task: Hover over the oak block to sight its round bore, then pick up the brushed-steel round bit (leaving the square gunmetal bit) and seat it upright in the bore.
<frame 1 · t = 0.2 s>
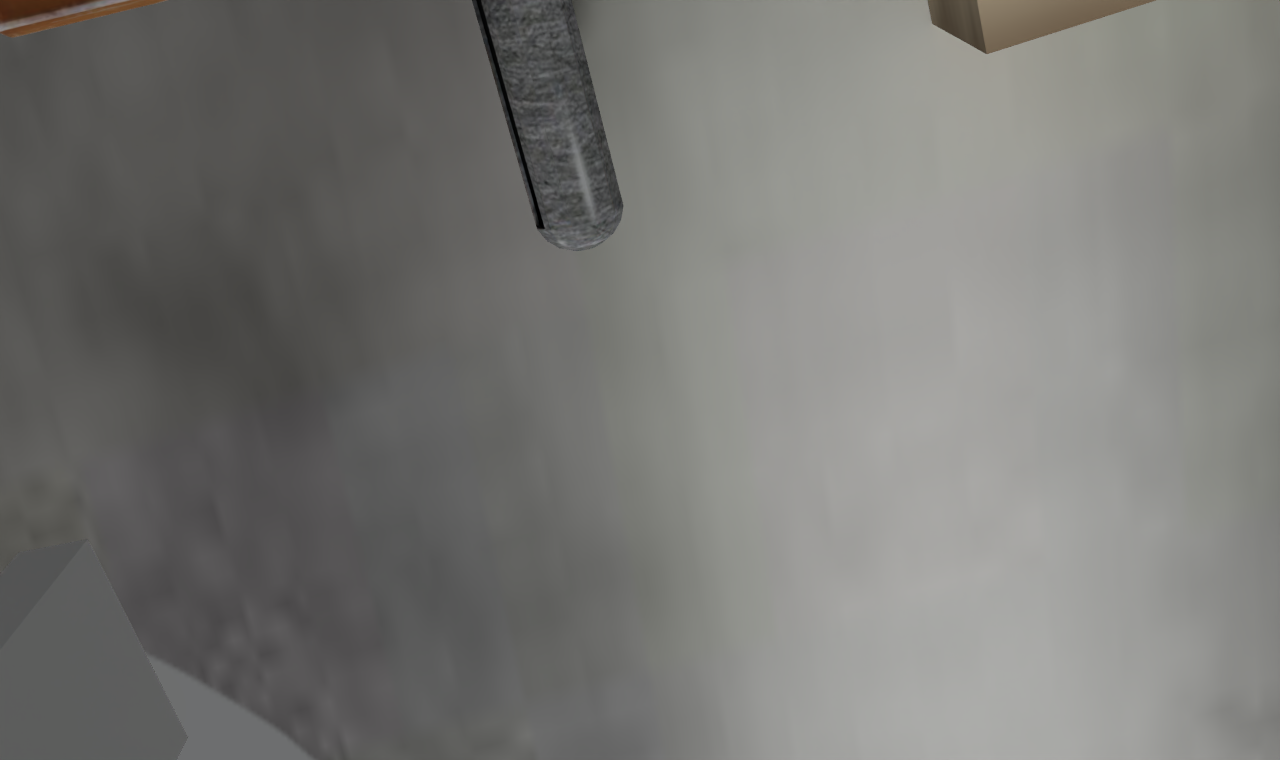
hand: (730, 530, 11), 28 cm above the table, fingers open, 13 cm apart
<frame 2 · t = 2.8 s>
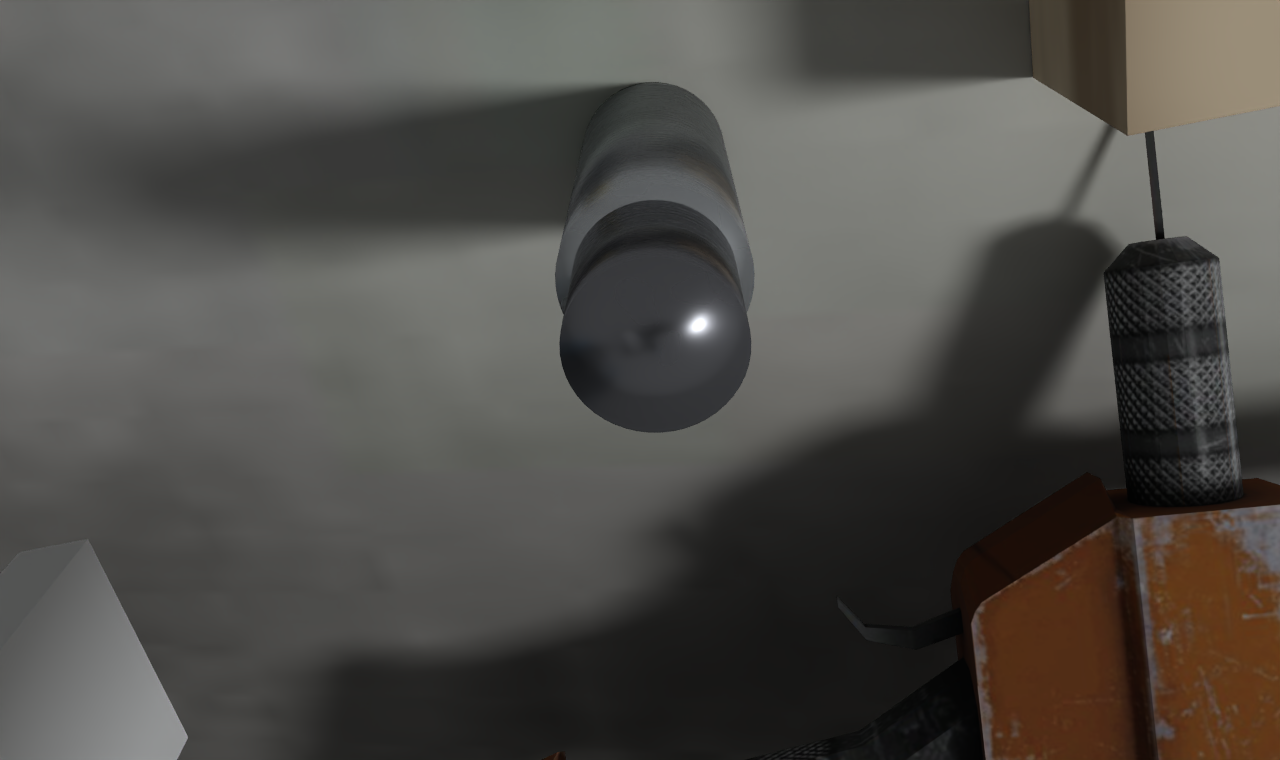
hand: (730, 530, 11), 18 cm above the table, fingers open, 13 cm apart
tool: (1065, 557, 30), point 3 cm above the table, touching bore block
round bit: (653, 154, 28), on the table
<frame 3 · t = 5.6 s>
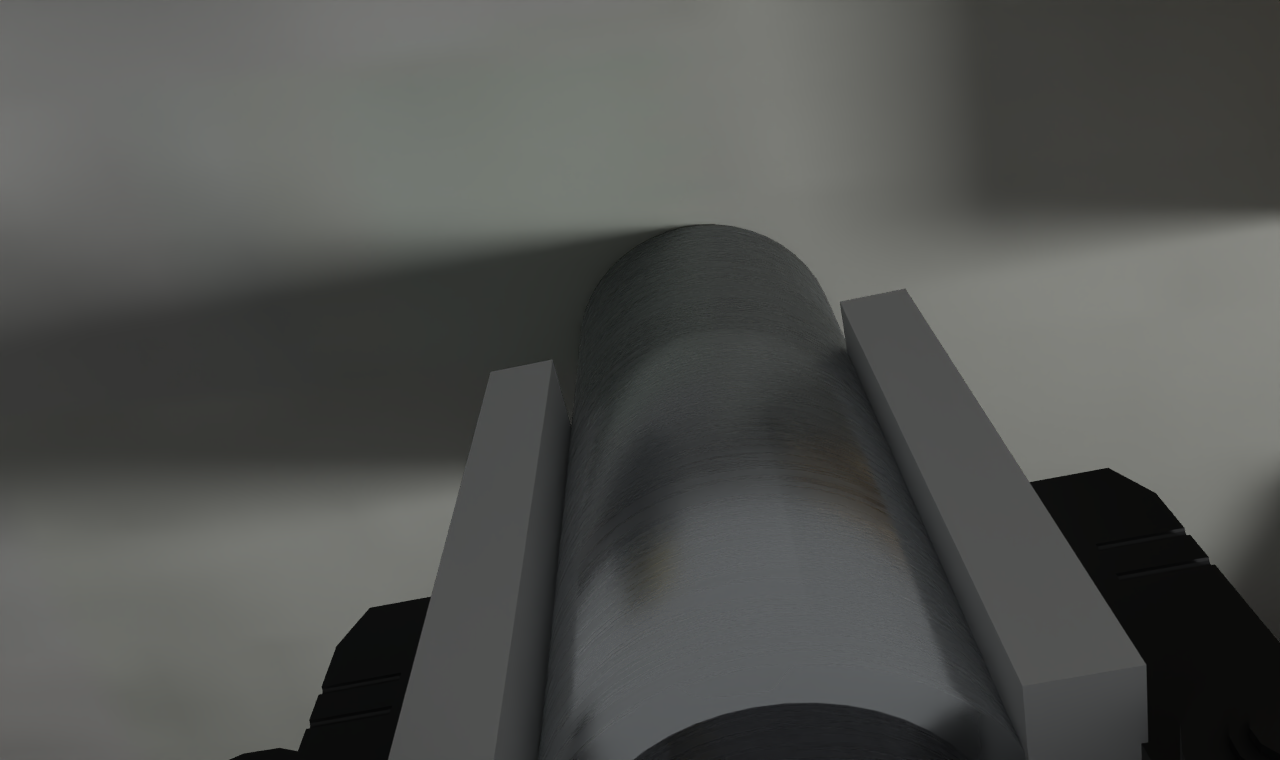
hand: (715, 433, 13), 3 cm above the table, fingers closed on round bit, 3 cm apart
round bit: (707, 347, 16), on the table, touching gripper
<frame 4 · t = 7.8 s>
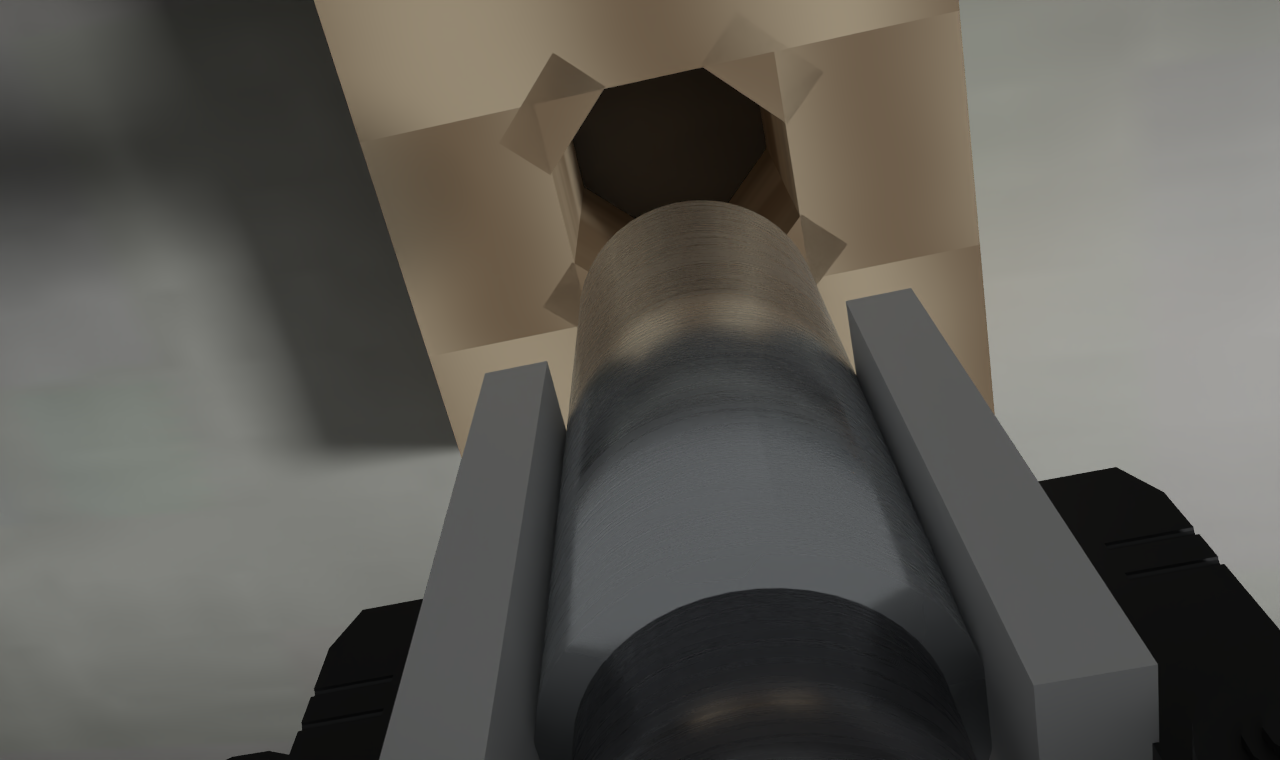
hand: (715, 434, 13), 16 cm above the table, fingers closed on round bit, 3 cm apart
bore block: (667, 130, 28), on the table
round bit: (698, 315, 17), point 13 cm above the table, touching gripper
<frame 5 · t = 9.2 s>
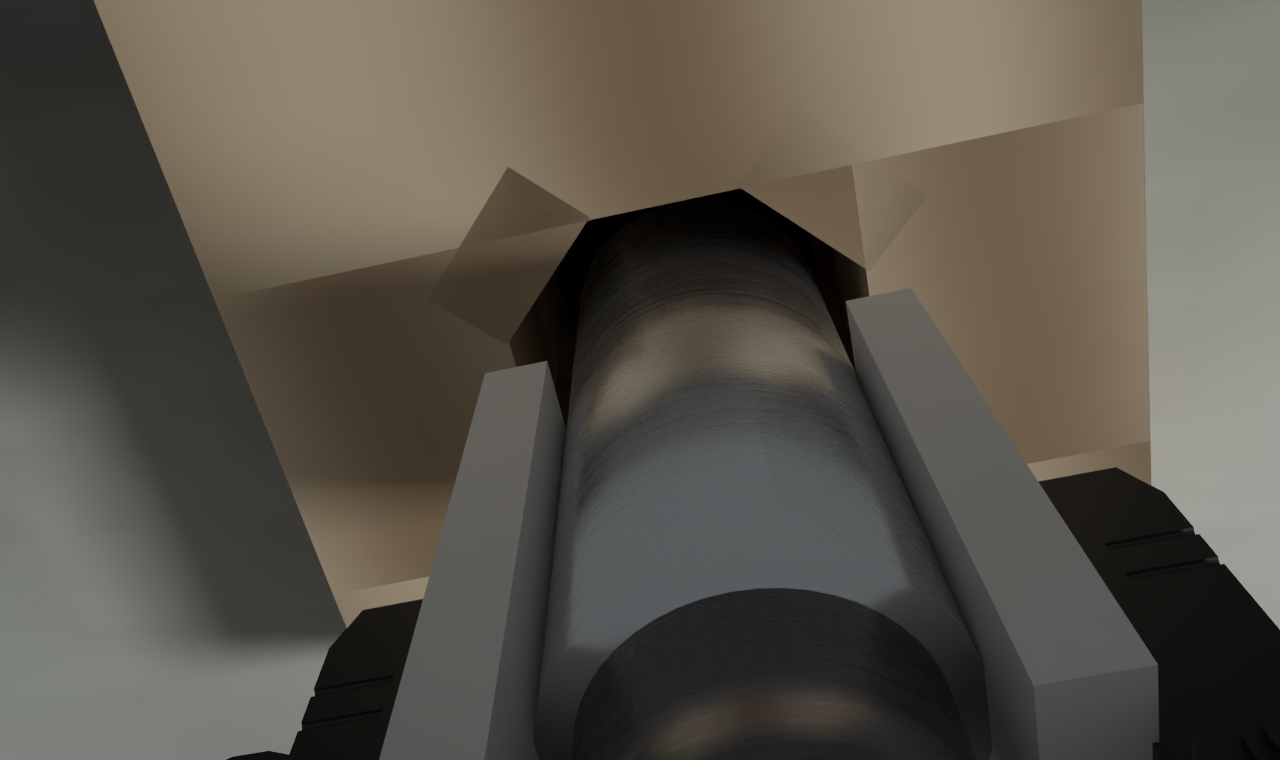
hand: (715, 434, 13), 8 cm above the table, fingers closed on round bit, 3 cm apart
bore block: (678, 236, 21), on the table
round bit: (698, 315, 17), point 4 cm above the table, touching gripper
when the fingers open (7 cm above the table, at t = 10.4 s): round bit drops 3 cm, resting in bore block.
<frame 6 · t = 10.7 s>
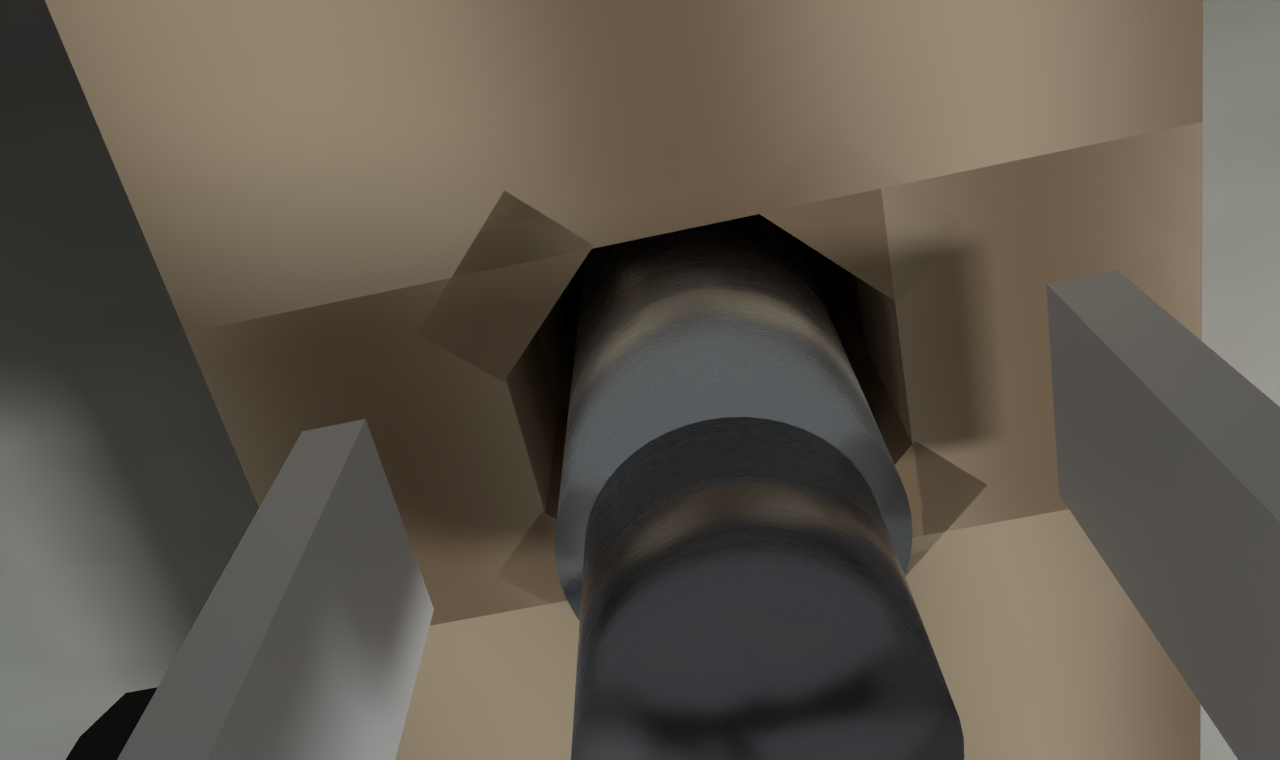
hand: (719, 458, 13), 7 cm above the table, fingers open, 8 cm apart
bore block: (688, 255, 19), on the table
round bit: (689, 257, 19), resting in bore block
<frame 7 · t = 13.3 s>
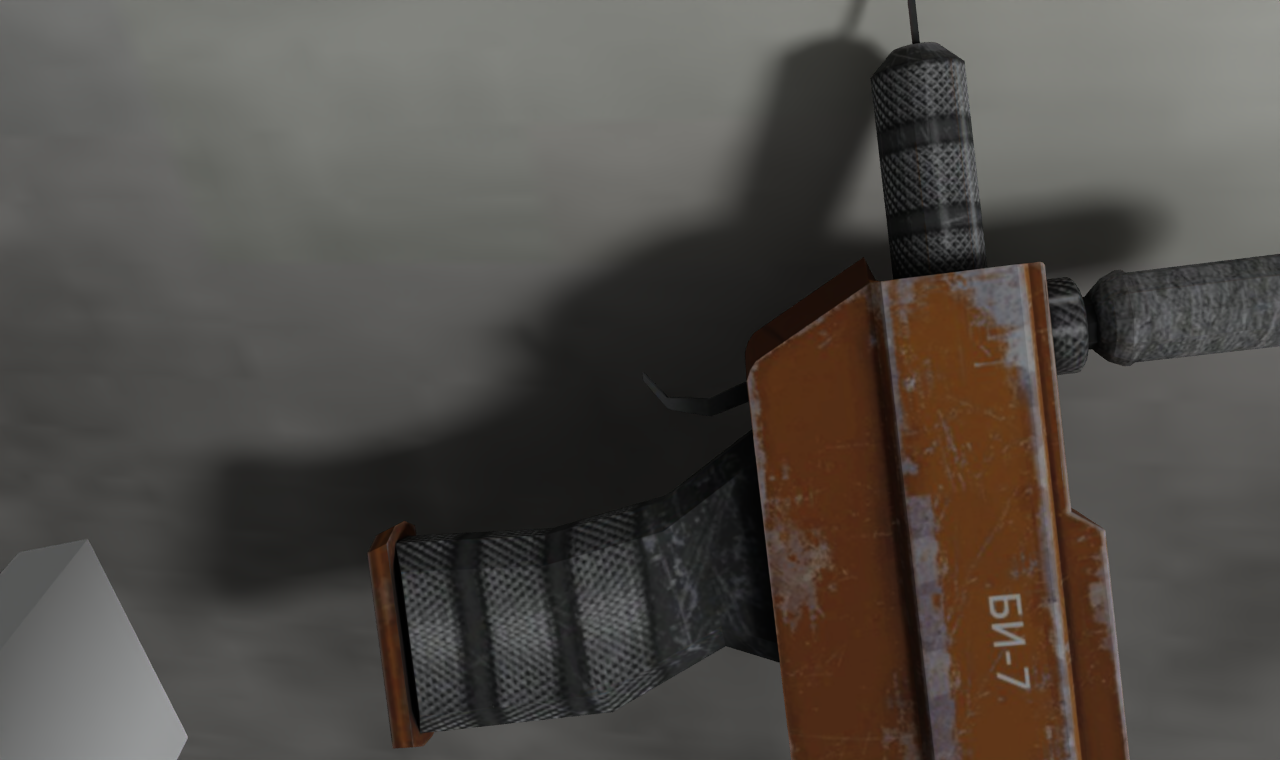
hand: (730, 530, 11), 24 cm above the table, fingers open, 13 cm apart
tool: (853, 345, 34), point 3 cm above the table, touching bore block
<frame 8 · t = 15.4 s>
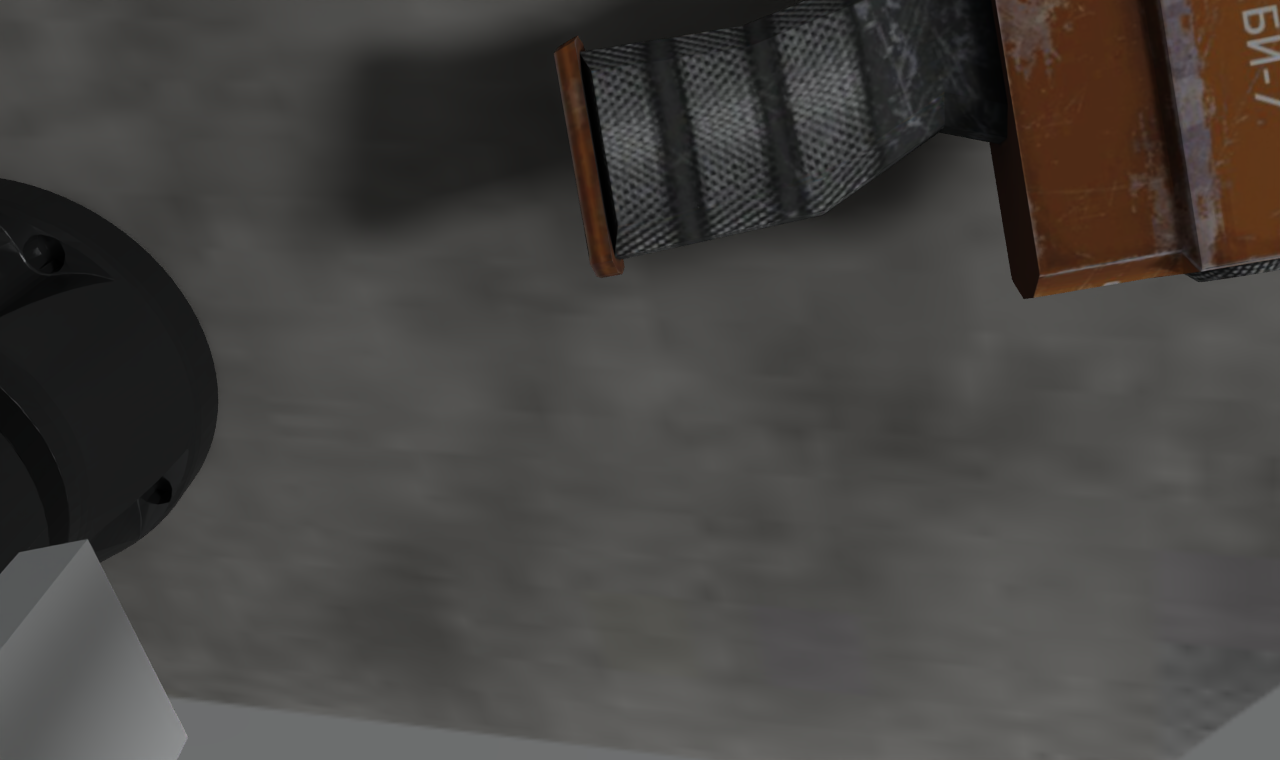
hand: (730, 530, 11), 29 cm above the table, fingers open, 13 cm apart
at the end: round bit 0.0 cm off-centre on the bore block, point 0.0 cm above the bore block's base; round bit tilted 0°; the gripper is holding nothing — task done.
